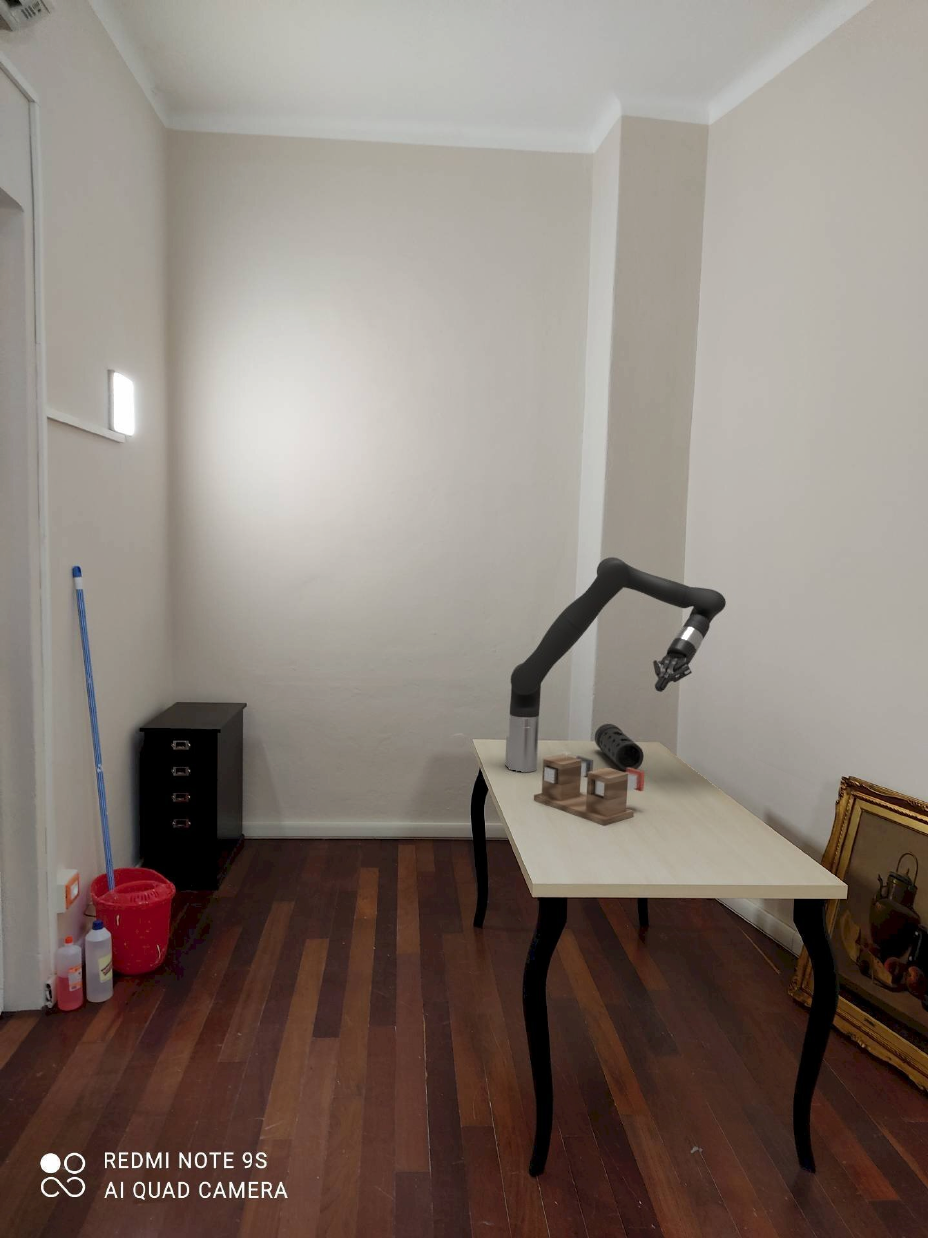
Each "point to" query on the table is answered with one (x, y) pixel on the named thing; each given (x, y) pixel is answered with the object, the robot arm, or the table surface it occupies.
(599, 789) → the red plug
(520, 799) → the table surface
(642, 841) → the table surface
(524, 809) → the table surface
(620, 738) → the muzzle brake
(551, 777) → the charcoal plug
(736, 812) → the table surface
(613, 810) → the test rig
